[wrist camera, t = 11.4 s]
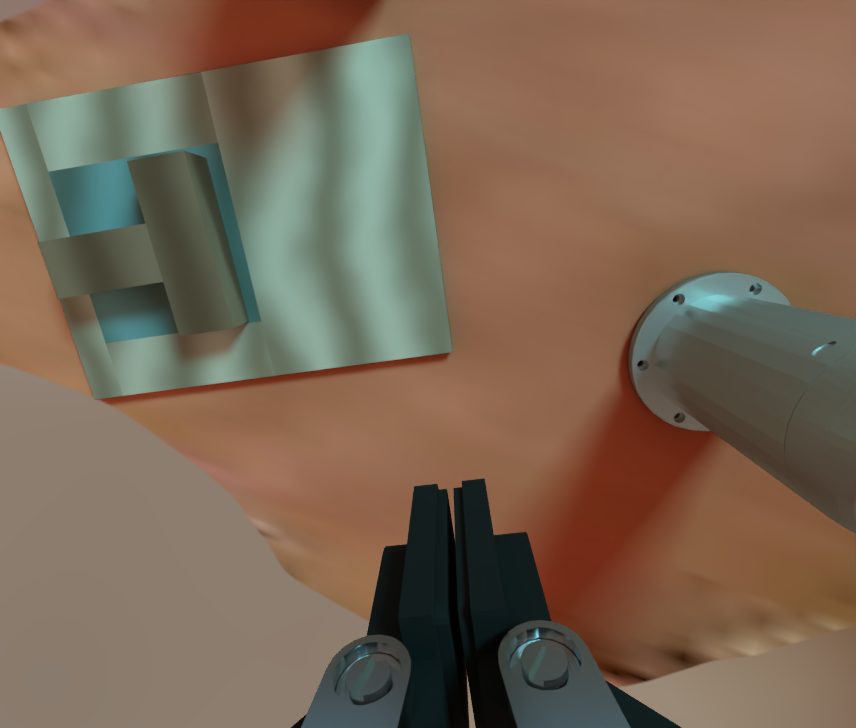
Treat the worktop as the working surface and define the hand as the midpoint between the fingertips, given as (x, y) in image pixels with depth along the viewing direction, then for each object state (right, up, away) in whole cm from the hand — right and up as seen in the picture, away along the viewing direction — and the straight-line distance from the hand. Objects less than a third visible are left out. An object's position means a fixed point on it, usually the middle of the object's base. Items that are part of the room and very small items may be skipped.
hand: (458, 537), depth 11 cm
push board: (-15, +14, +25) cm, 32 cm away
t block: (-22, +12, +25) cm, 35 cm away
